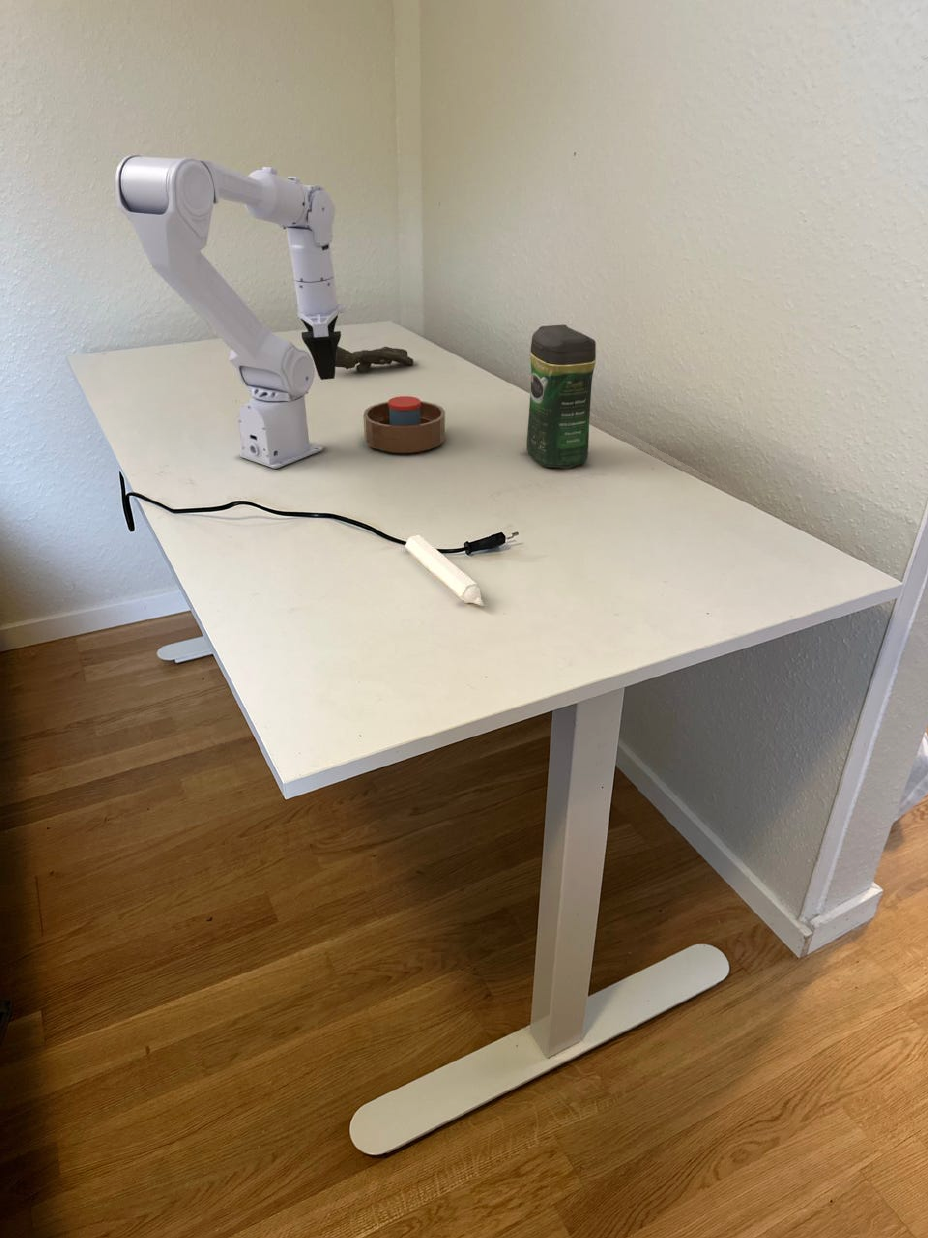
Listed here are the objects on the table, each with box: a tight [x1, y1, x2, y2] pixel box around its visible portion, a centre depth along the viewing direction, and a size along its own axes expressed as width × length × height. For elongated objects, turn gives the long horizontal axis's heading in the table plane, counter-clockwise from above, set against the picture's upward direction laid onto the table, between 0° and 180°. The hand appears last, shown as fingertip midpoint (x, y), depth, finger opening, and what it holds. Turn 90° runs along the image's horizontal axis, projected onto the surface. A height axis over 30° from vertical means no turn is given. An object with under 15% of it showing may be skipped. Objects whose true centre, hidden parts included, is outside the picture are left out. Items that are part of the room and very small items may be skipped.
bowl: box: [362, 400, 446, 454], centre depth 130 cm, size 12×12×4 cm
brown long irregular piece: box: [335, 346, 415, 374], centre depth 161 cm, size 6×6×20 cm
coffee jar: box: [525, 324, 597, 469], centre depth 120 cm, size 10×8×19 cm
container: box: [387, 395, 422, 426], centre depth 129 cm, size 5×5×6 cm
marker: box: [404, 534, 485, 608], centre depth 94 cm, size 3×2×16 cm
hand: (326, 369), depth 131 cm, fingers open, 7 cm apart
